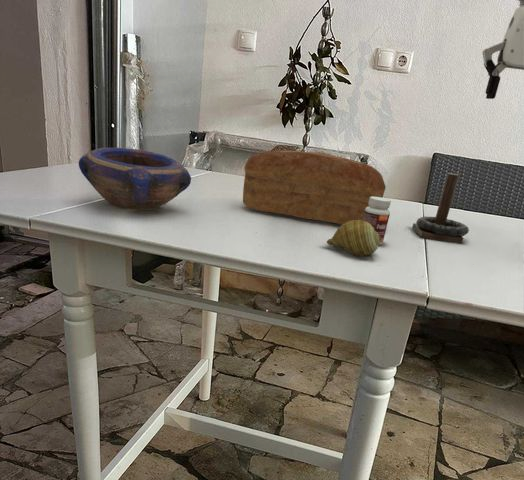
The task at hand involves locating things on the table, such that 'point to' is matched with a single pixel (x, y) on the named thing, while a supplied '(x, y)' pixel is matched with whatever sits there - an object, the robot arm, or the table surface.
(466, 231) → the ring
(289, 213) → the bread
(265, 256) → the table surface
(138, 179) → the bowl
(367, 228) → the seashell
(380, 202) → the pill bottle
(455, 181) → the stand
